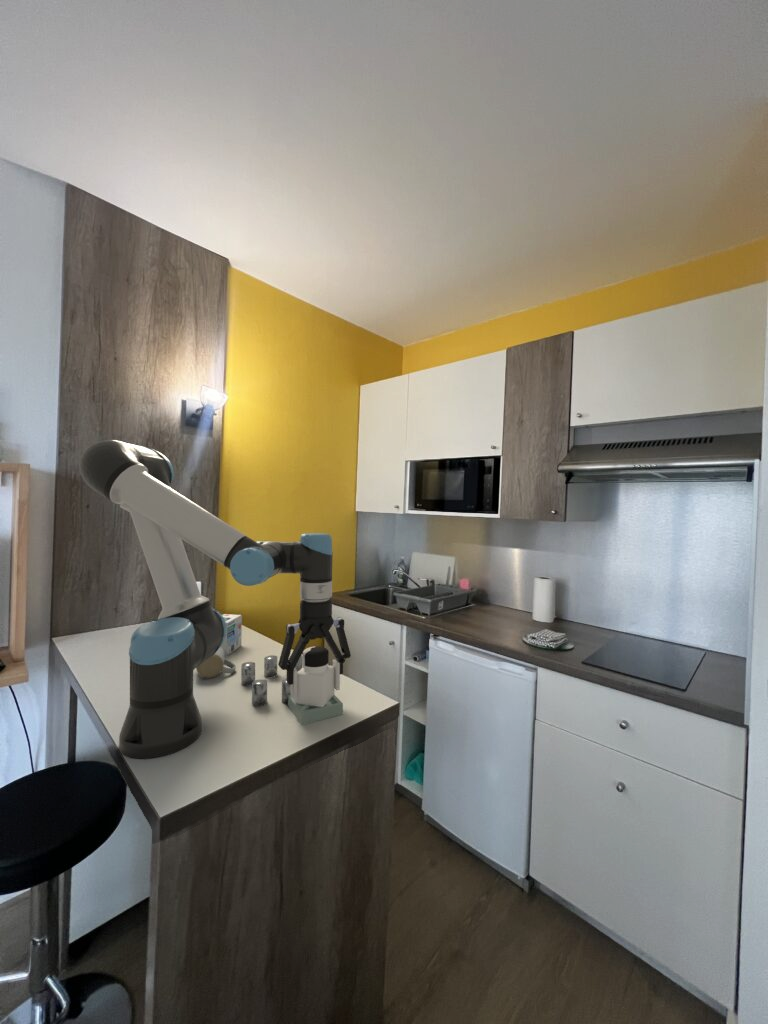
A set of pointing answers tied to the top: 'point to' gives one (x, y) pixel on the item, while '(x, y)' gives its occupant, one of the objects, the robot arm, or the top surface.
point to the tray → (315, 710)
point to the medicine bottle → (315, 678)
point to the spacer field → (261, 685)
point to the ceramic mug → (215, 665)
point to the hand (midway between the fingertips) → (315, 692)
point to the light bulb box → (232, 633)
